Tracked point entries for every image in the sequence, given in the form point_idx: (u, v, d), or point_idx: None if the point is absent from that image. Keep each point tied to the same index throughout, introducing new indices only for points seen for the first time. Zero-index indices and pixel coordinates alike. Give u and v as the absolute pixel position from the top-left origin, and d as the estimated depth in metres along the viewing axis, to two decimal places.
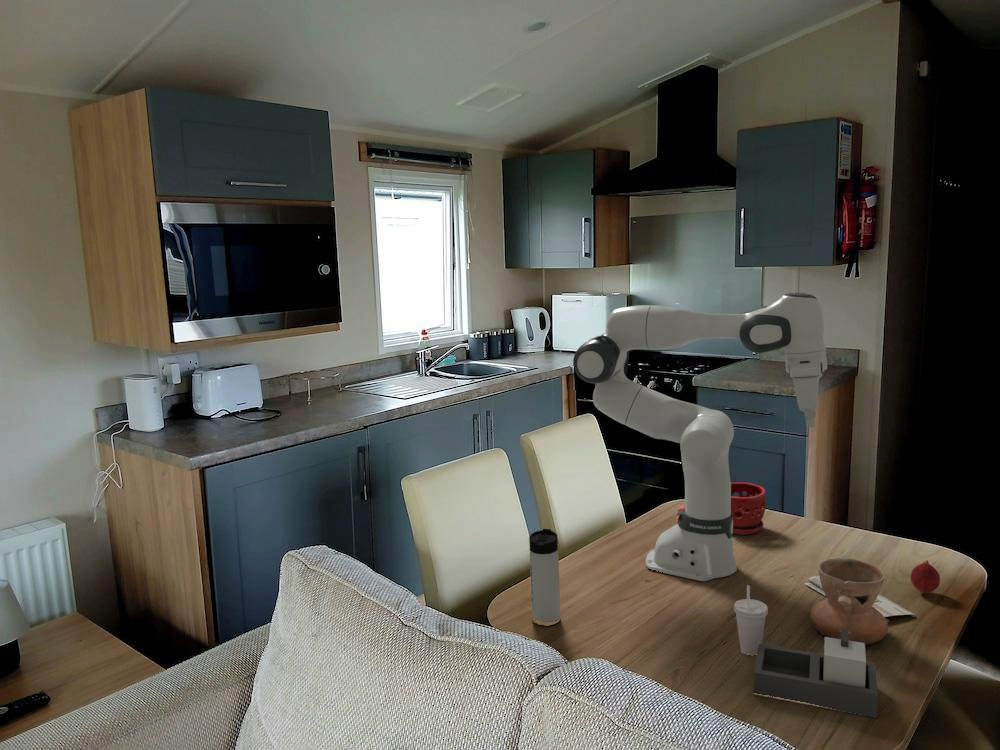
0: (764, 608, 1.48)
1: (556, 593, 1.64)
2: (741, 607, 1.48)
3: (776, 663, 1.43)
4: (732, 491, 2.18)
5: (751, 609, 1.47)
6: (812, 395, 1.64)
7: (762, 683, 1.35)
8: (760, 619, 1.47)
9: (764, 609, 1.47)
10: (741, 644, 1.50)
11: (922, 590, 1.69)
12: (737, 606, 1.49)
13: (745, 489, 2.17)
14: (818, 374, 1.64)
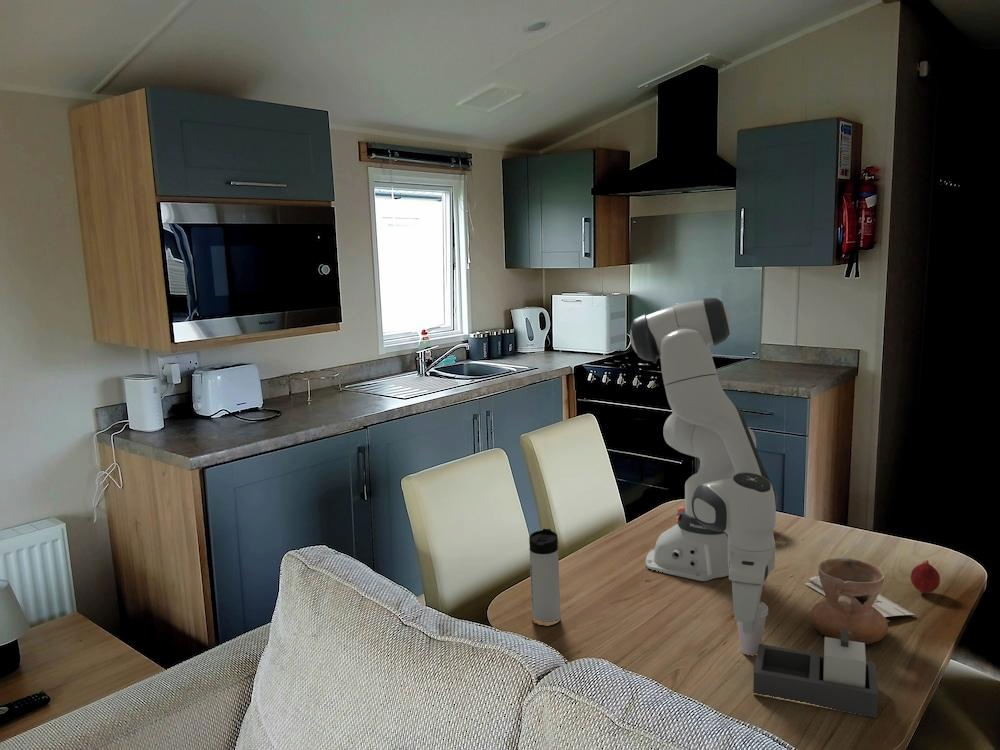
0: (765, 608, 1.48)
1: (556, 593, 1.64)
2: None
3: (776, 663, 1.43)
4: None
5: None
6: (751, 606, 1.39)
7: (762, 683, 1.35)
8: (760, 619, 1.47)
9: (765, 609, 1.47)
10: (741, 644, 1.50)
11: (922, 590, 1.69)
12: None
13: None
14: (761, 583, 1.39)
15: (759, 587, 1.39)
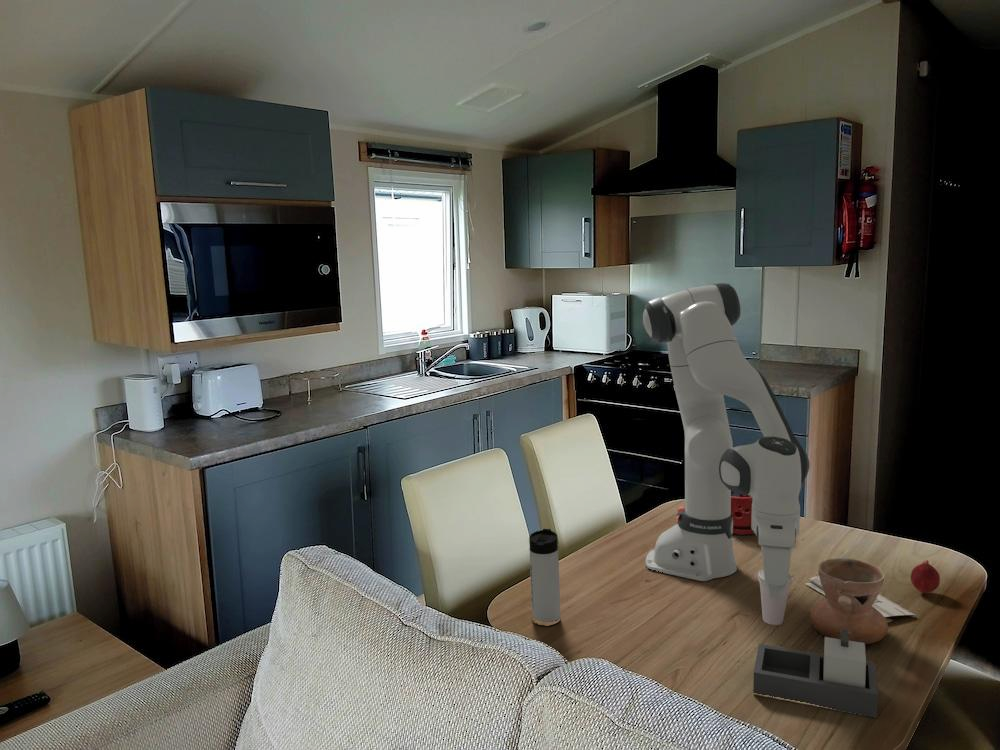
0: (789, 577, 1.47)
1: (556, 593, 1.64)
2: None
3: (776, 663, 1.43)
4: None
5: None
6: (783, 570, 1.38)
7: (762, 683, 1.35)
8: (786, 588, 1.46)
9: (789, 578, 1.47)
10: (765, 613, 1.49)
11: (922, 590, 1.69)
12: (762, 576, 1.48)
13: None
14: (792, 546, 1.38)
15: (790, 550, 1.38)
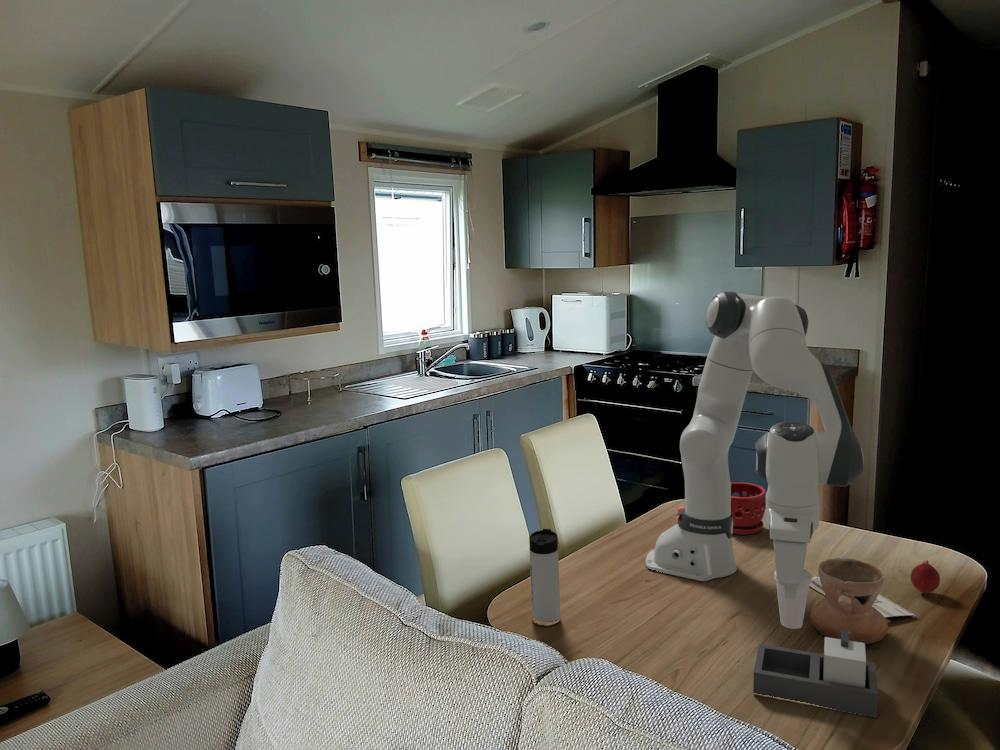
0: (808, 576, 1.34)
1: (556, 593, 1.64)
2: None
3: (776, 663, 1.43)
4: (732, 491, 2.18)
5: None
6: (796, 567, 1.25)
7: (762, 683, 1.35)
8: (804, 588, 1.33)
9: (808, 577, 1.34)
10: (782, 616, 1.36)
11: (922, 590, 1.69)
12: None
13: (745, 489, 2.17)
14: (807, 541, 1.25)
15: (804, 546, 1.25)
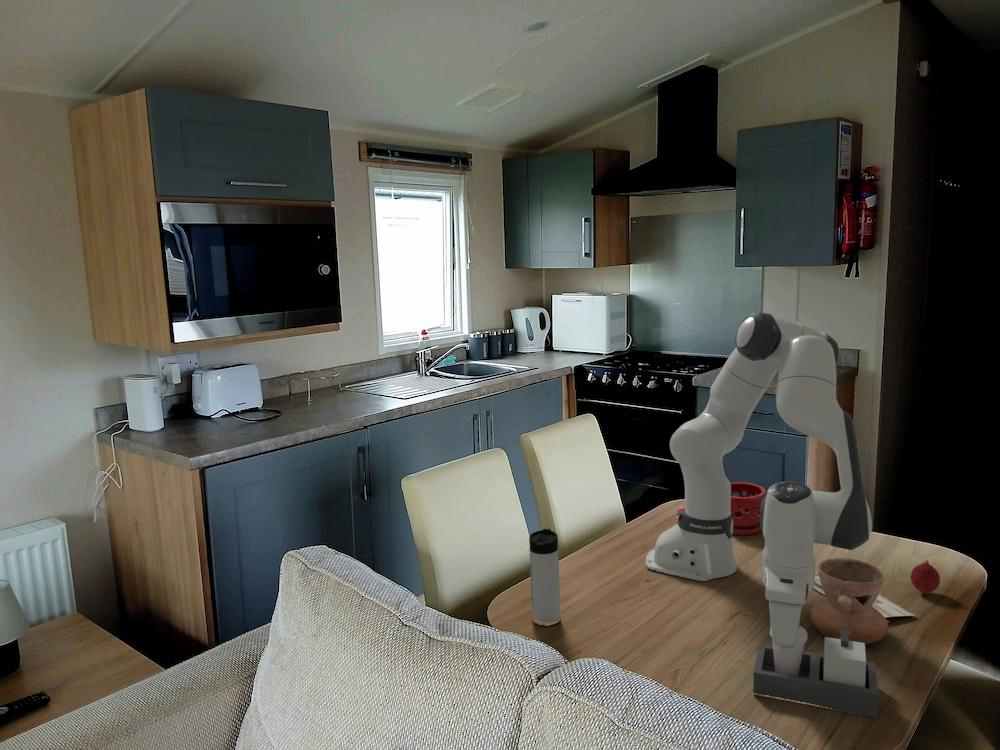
0: (803, 633, 1.36)
1: (556, 593, 1.64)
2: None
3: None
4: (732, 491, 2.18)
5: None
6: (791, 629, 1.27)
7: (762, 683, 1.35)
8: (799, 645, 1.35)
9: (804, 634, 1.35)
10: (777, 671, 1.38)
11: (922, 590, 1.69)
12: None
13: (745, 489, 2.17)
14: (802, 603, 1.27)
15: (800, 607, 1.27)
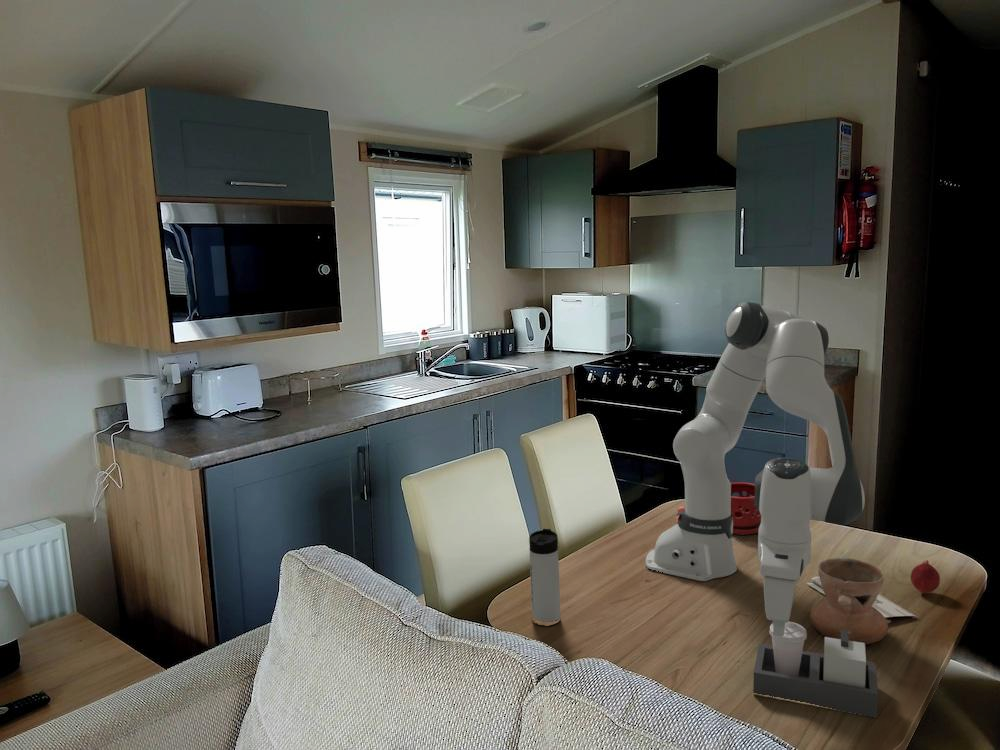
0: (803, 631, 1.37)
1: (556, 593, 1.64)
2: None
3: None
4: (732, 491, 2.18)
5: (789, 633, 1.36)
6: (785, 604, 1.26)
7: (762, 683, 1.35)
8: (799, 644, 1.35)
9: (803, 633, 1.36)
10: (777, 670, 1.38)
11: (922, 590, 1.69)
12: None
13: (745, 489, 2.17)
14: (796, 579, 1.26)
15: (794, 583, 1.26)
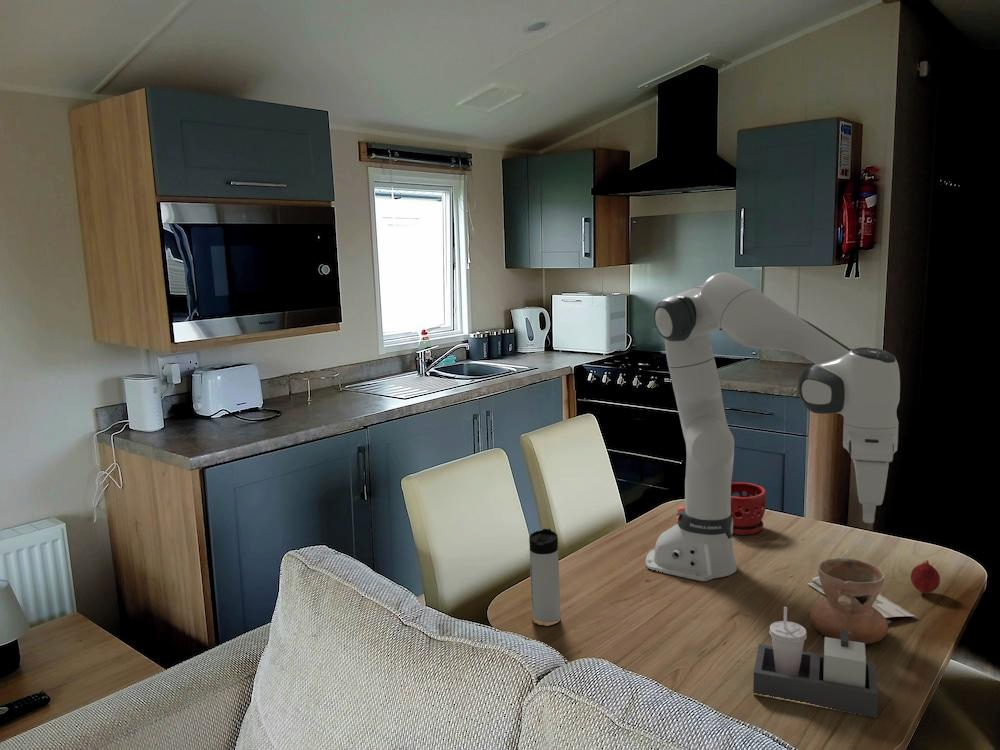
0: (803, 631, 1.37)
1: (556, 593, 1.64)
2: (778, 630, 1.37)
3: None
4: (732, 491, 2.18)
5: (789, 633, 1.36)
6: (878, 486, 1.27)
7: (762, 683, 1.35)
8: (799, 644, 1.35)
9: (803, 633, 1.36)
10: (777, 670, 1.38)
11: (922, 590, 1.69)
12: (773, 629, 1.38)
13: (745, 489, 2.17)
14: (889, 460, 1.27)
15: (887, 465, 1.27)
